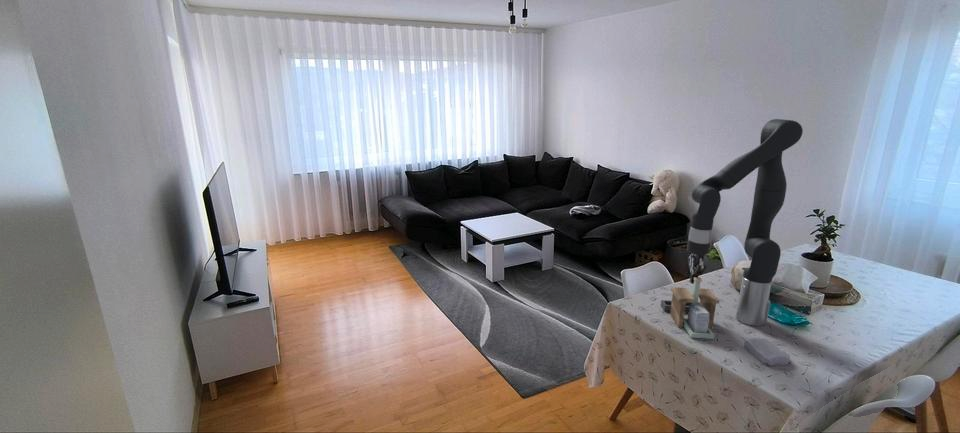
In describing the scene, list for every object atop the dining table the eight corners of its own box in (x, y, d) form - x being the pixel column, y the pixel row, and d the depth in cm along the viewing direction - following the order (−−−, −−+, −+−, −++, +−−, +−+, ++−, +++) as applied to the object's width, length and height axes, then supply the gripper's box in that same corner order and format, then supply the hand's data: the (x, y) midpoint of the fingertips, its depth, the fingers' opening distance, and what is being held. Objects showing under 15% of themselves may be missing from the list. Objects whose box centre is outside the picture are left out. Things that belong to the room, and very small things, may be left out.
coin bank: (747, 278, 206) (753, 252, 201) (773, 297, 189) (780, 270, 185) (716, 280, 204) (721, 254, 199) (739, 300, 188) (745, 273, 183)
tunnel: (704, 316, 170) (708, 288, 167) (714, 329, 160) (719, 300, 157) (667, 314, 171) (670, 287, 168) (675, 327, 162) (679, 298, 159)
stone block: (765, 350, 151) (739, 346, 149) (770, 338, 149) (744, 334, 148) (791, 371, 139) (764, 368, 138) (797, 359, 138) (769, 355, 137)
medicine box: (706, 335, 156) (710, 313, 154) (693, 334, 157) (697, 313, 154) (699, 324, 164) (702, 303, 161) (686, 323, 164) (689, 302, 162)
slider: (700, 321, 165) (707, 277, 160) (713, 338, 153) (721, 292, 149) (680, 320, 166) (686, 276, 161) (691, 337, 154) (697, 290, 150)
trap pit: (699, 307, 177) (699, 302, 176) (703, 313, 172) (704, 307, 171) (660, 305, 178) (661, 300, 178) (664, 311, 174) (664, 305, 173)
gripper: (717, 246, 152) (710, 291, 157) (703, 234, 165) (697, 276, 170) (695, 245, 153) (688, 290, 158) (683, 233, 166) (677, 275, 171)
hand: (693, 282), depth 164 cm, fingers closed
